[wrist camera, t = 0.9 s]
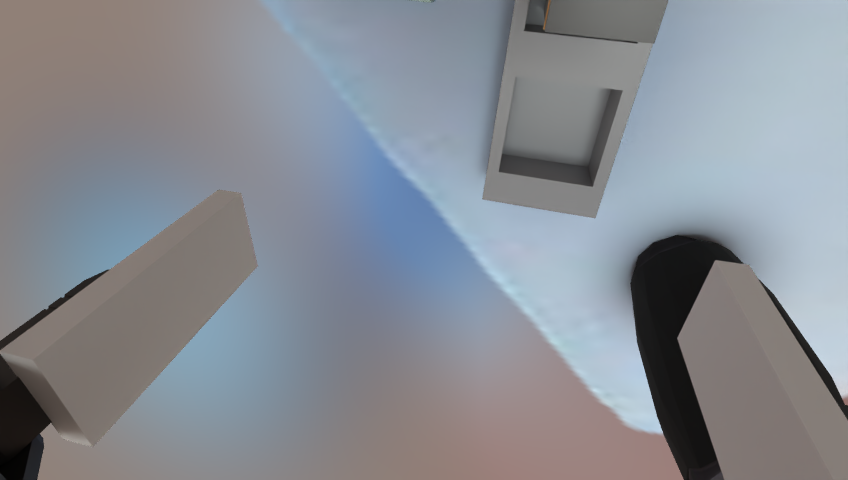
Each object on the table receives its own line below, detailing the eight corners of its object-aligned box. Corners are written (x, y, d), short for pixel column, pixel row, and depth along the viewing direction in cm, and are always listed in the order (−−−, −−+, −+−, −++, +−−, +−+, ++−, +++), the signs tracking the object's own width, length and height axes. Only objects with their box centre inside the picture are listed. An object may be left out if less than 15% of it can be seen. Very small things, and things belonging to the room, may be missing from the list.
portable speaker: (609, 303, 40) (654, 535, 24) (650, 214, 35) (744, 432, 19) (708, 326, 39) (827, 586, 23) (766, 237, 34) (973, 491, 17)
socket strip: (542, -149, 25) (543, -222, 15) (692, -141, 24) (799, -214, 14) (488, 174, 36) (468, 255, 26) (589, 190, 35) (608, 281, 25)
